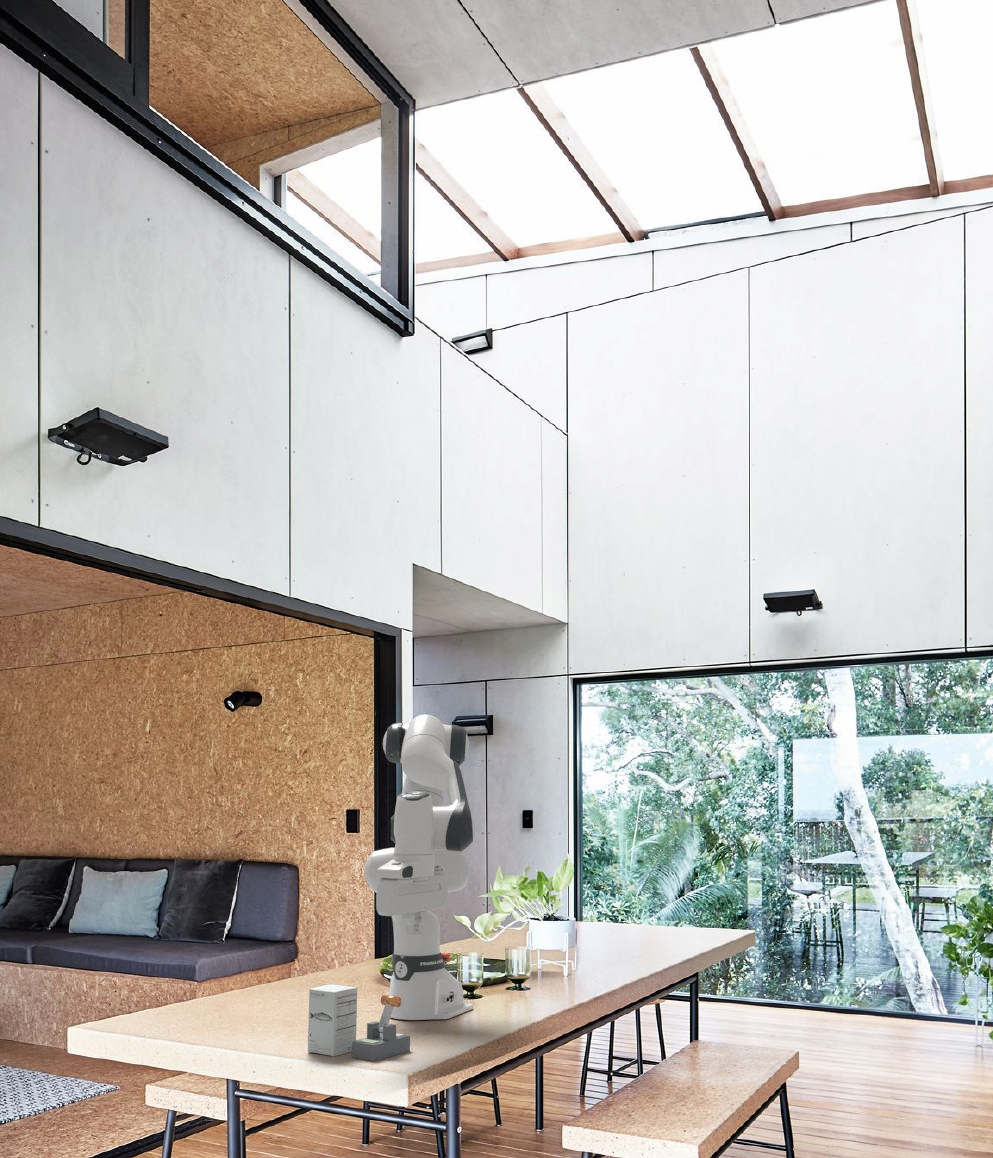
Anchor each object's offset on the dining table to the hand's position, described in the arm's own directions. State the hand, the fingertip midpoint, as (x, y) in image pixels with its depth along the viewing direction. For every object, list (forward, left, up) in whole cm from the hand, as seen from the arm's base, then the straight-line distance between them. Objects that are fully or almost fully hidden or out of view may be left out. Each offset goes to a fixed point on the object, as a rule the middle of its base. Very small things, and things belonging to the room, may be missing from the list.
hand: (413, 933), depth 245 cm
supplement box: (+14, -10, -23) cm, 29 cm away
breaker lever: (+10, 0, -18) cm, 21 cm away
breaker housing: (+10, 0, -23) cm, 25 cm away
